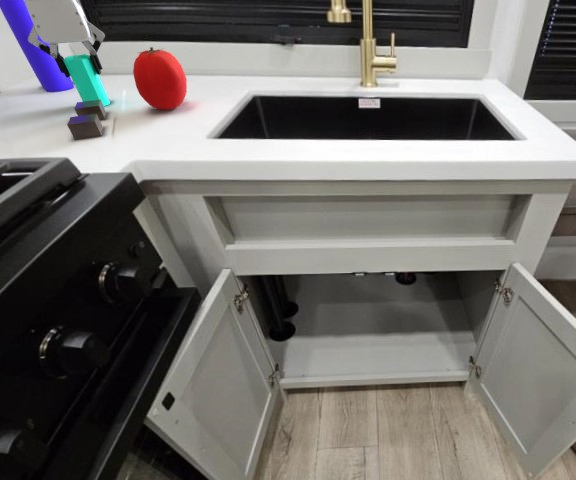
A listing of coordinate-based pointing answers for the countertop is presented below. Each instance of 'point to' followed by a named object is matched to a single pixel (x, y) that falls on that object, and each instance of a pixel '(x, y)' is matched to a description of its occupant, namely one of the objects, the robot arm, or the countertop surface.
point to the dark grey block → (85, 126)
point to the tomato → (160, 79)
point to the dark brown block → (91, 108)
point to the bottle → (34, 47)
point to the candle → (86, 78)
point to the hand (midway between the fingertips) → (83, 74)
